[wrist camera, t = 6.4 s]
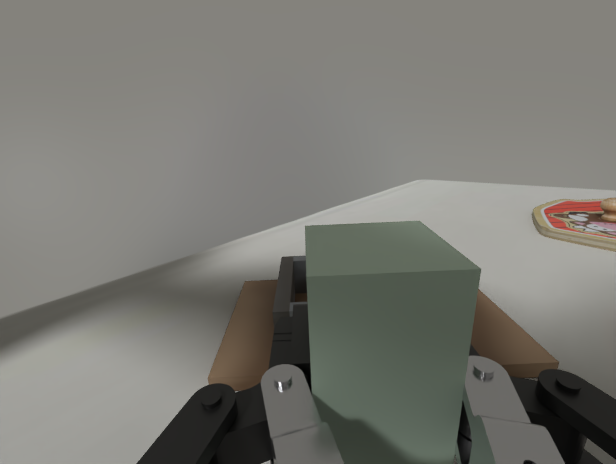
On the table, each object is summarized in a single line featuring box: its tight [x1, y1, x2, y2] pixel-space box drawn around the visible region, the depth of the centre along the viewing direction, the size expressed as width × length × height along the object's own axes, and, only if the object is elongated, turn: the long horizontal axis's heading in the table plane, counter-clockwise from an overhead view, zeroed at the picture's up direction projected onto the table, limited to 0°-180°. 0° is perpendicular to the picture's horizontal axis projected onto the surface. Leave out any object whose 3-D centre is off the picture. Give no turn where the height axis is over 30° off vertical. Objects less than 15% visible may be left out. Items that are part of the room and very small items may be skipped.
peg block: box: [305, 221, 481, 464], centre depth 11 cm, size 4×4×11 cm
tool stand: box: [208, 256, 559, 391], centre depth 23 cm, size 20×12×4 cm, turn 91°
